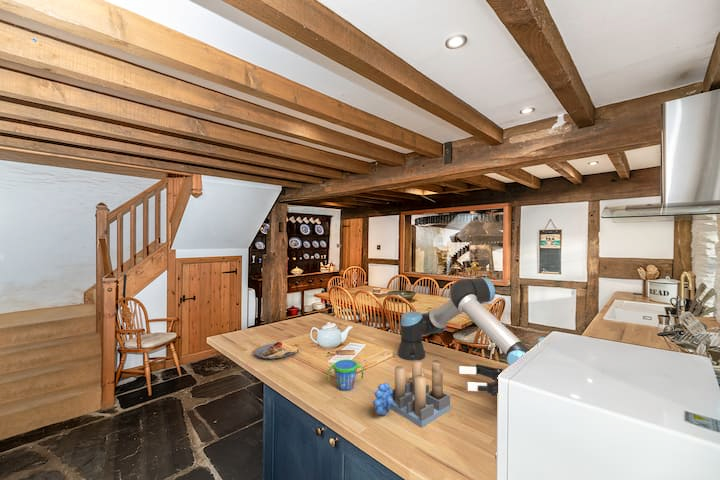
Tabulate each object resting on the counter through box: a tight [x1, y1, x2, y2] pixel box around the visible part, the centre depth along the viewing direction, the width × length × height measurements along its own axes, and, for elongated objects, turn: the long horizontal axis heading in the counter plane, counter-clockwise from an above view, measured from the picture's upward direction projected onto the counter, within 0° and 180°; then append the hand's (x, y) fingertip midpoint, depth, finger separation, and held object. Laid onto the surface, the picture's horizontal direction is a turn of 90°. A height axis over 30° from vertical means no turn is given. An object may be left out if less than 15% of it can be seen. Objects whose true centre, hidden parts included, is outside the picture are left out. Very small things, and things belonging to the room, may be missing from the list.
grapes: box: [373, 382, 394, 417], centre depth 111 cm, size 12×7×12 cm, turn 145°
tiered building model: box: [408, 371, 425, 382], centre depth 133 cm, size 10×9×6 cm
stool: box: [390, 360, 452, 428], centre depth 116 cm, size 17×17×15 cm
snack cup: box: [327, 359, 364, 391], centre depth 133 cm, size 16×10×10 cm
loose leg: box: [431, 359, 444, 400], centre depth 115 cm, size 4×4×16 cm
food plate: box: [253, 341, 299, 360], centre depth 173 cm, size 25×23×4 cm
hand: (463, 377), depth 114 cm, fingers open, 13 cm apart
